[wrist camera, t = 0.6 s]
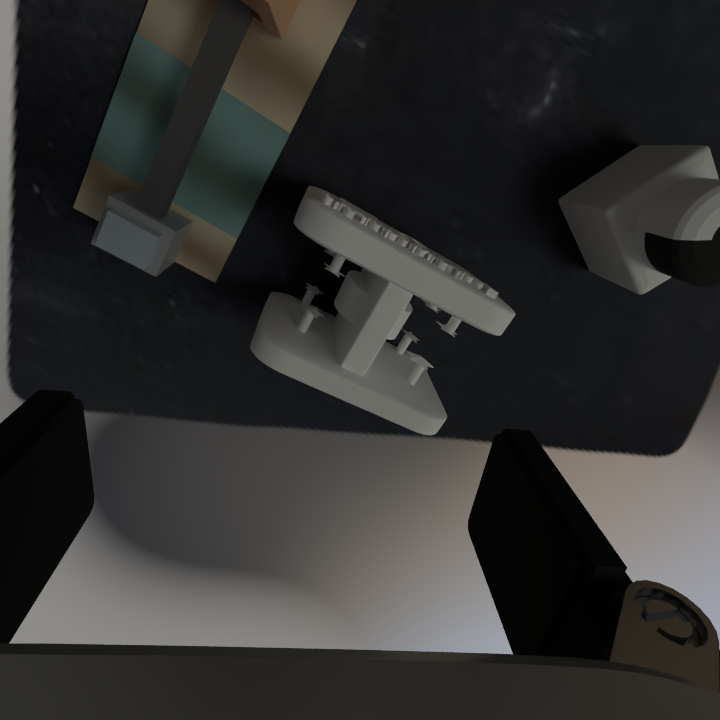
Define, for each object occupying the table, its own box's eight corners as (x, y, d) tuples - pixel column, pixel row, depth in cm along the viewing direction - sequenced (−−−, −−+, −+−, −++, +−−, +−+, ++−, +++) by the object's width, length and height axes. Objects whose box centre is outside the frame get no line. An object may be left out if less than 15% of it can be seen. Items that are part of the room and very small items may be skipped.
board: (288, -378, 24) (287, -388, 23) (460, -207, 27) (462, -213, 26) (75, 206, 34) (72, 207, 34) (216, 281, 37) (214, 282, 37)
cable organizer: (255, 297, 38) (230, 355, 28) (313, 175, 35) (310, 188, 24) (410, 370, 42) (440, 446, 32) (476, 268, 39) (535, 315, 28)
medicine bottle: (668, 223, 38) (806, 254, 27) (588, 272, 39) (690, 321, 29) (640, 143, 35) (781, 142, 24) (555, 199, 37) (653, 222, 26)
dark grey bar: (361, -322, 23) (364, -353, 21) (388, -294, 23) (393, -323, 22) (135, 222, 32) (126, 226, 31) (157, 234, 33) (150, 238, 31)
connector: (137, 188, 34) (101, 197, 28) (194, 220, 35) (170, 234, 30) (120, 230, 35) (82, 247, 29) (176, 260, 36) (150, 281, 31)
